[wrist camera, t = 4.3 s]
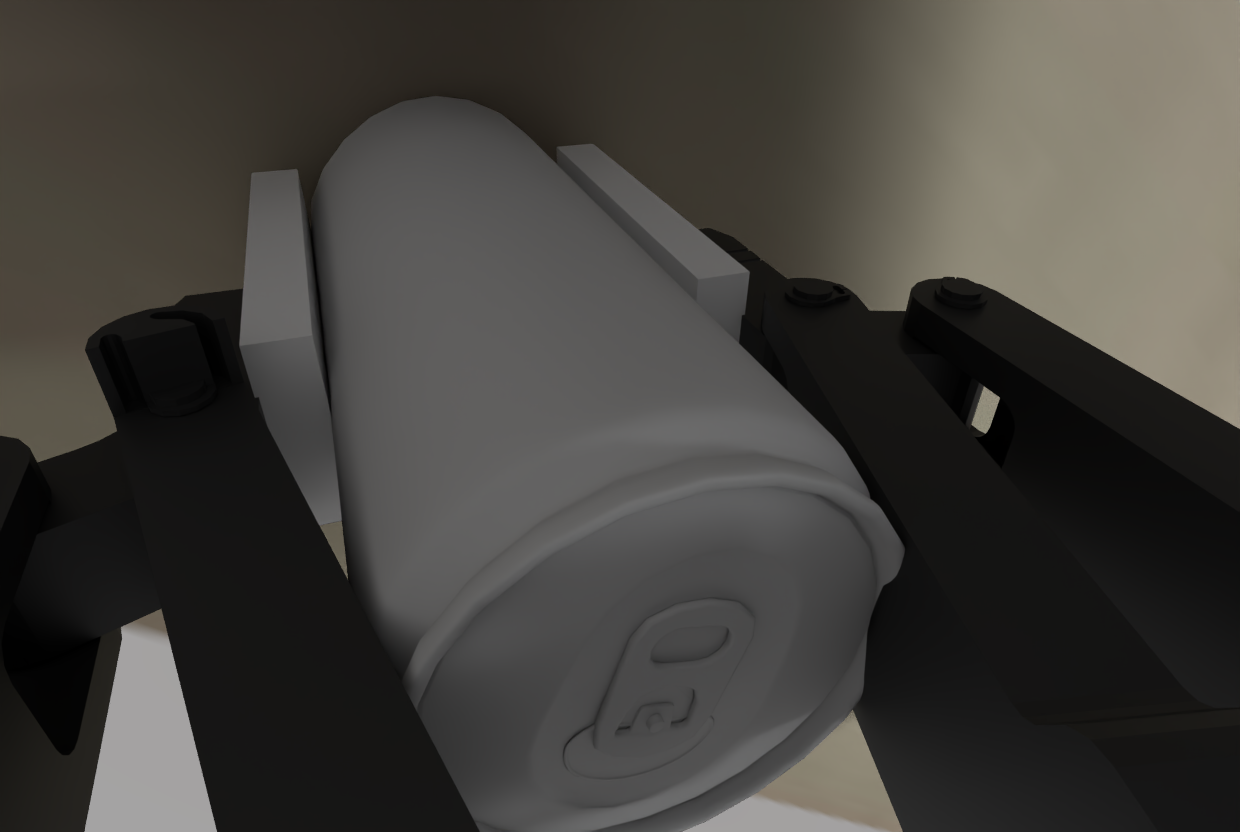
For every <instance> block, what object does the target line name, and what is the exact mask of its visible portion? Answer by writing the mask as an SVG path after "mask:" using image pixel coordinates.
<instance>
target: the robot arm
mask: <svg viewBox="0 0 1240 832" xmlns="http://www.w3.org/2000/svg"><path fill="white" fill-rule="evenodd" d="M556 149H557V165H558V166H559V167H560V168H561V169H562V170H563V171H564V172H565V173H566V174H567V175H568V176H569V177H570V178H571V179H572V180H573V181H574V182H575V183H576V184H577V185H578V186H579V187H580V188H581V189H582V190H583V191H584V192H585V193H586V194H587V195H589V196H590V197H591V198H592V199H593V200H594V201H595V202H596V203H597V204H598V205H599V206H600V207H601V208H602V209H603V210H604V211H605V212H606V213H607V214H608V215H609V216H610V217H611V218H612V219H613V220H614V221H615V222H616V223H617V224H618V225H619V226H620V227H621V228H622V229H623V230H624V231H625V232H626V233H627V234H628V235H629V236H630V237H631V238H632V239H633V240H634V241H635V242H636V243H637V244H638V245H639V246H640V247H641V248H642V249H643V250H644V251H645V252H646V253H647V254H648V255H649V256H650V257H652V258H653V259H654V260H655V261H656V262H657V263H658V264H659V265H660V266H661V267H662V268H663V269H664V270H665V271H666V272H667V273H668V274H669V275H670V276H671V277H672V278H673V279H674V280H675V281H676V282H677V283H678V284H679V285H680V286H681V287H682V288H683V289H684V290H685V291H686V292H687V293H688V294H689V295H690V296H691V297H692V298H693V299H694V300H695V301H696V302H697V303H698V304H699V305H700V306H701V307H702V308H703V309H705V310H706V311H707V312H708V313H709V314H710V315H711V316H712V317H713V318H714V319H715V320H716V321H717V322H718V323H719V324H720V325H721V326H722V327H723V328H724V329H725V330H726V331H727V332H728V333H729V334H730V335H731V336H732V337H733V338H734V339H735V340H736V341H737V342H738V343H739V344H740V345H741V346H742V347H743V348H744V349H745V350H746V351H747V352H748V353H749V354H750V355H751V356H752V357H753V358H754V359H755V360H756V361H757V362H758V363H759V364H760V365H761V366H762V367H763V368H764V369H765V370H767V371H768V372H769V373H770V374H771V375H772V376H773V377H774V378H775V379H776V380H777V381H778V382H779V383H780V384H781V385H782V386H783V387H784V388H785V389H786V390H787V391H788V392H789V393H790V394H791V395H792V396H793V397H794V398H795V399H796V400H797V401H798V402H799V403H800V404H801V405H802V406H803V407H804V408H805V409H806V410H807V411H808V412H809V413H810V414H811V415H812V416H813V417H814V418H815V419H816V420H817V421H818V422H819V423H820V424H821V425H822V426H823V427H824V428H825V429H826V430H827V431H828V432H829V433H830V434H831V435H832V436H833V437H834V438H835V439H836V440H837V441H838V442H839V443H840V445H841V446H842V447H843V448H844V450H845V451H846V453H847V455H848V456H849V458H850V460H851V461H852V463H853V465H854V466H855V468H856V470H857V471H858V473H859V475H860V476H861V478H862V480H863V481H864V483H865V484H866V486H867V489H868V491H869V493H870V499H871V500H873V501H874V502H875V503H876V504H877V505H878V506H879V507H880V508H881V509H882V511H883V512H884V514H885V515H886V517H887V519H888V520H889V522H890V524H891V525H892V527H893V529H894V530H895V532H896V534H897V535H898V537H899V538H900V540H901V542H902V543H903V545H904V547H905V553H904V557H903V561H902V564H901V567H900V569H899V571H898V573H897V575H896V577H895V578H894V579H893V580H892V581H891V582H889V583H887V584H885V585H883V587H882V590H881V592H880V594H879V597H878V599H877V601H876V604H875V606H874V609H873V612H872V615H871V618H870V622H869V626H868V631H867V643H866V658H865V670H864V687H863V693H862V696H861V699H860V701H859V702H858V703H857V704H856V706H855V707H854V708H853V711H854V713H855V716H856V718H857V720H858V723H859V725H860V728H861V730H862V733H863V735H864V738H865V740H866V742H867V745H868V747H869V750H870V752H871V755H872V757H873V759H874V762H875V764H876V767H877V769H878V772H879V774H880V777H881V779H882V781H883V784H884V786H885V789H886V791H887V794H888V796H889V798H890V801H891V803H892V806H893V808H894V811H895V813H896V816H897V818H898V820H899V823H900V825H901V828H902V830H903V832H1240V429H1239V428H1237V427H1235V426H1233V425H1231V424H1230V423H1228V422H1226V421H1224V420H1223V419H1221V418H1219V417H1217V416H1216V415H1214V414H1212V413H1210V412H1209V411H1207V410H1205V409H1203V408H1202V407H1200V406H1198V405H1196V404H1194V403H1193V402H1191V401H1189V400H1187V399H1186V398H1184V397H1182V396H1180V395H1179V394H1177V393H1175V392H1173V391H1172V390H1170V389H1168V388H1166V387H1165V386H1163V385H1161V384H1159V383H1157V382H1156V381H1154V380H1152V379H1150V378H1149V377H1147V376H1145V375H1143V374H1142V373H1140V372H1138V371H1136V370H1135V369H1133V368H1131V367H1129V366H1128V365H1126V364H1124V363H1122V362H1120V361H1119V360H1117V359H1115V358H1113V357H1112V356H1110V355H1108V354H1106V353H1105V352H1103V351H1101V350H1099V349H1098V348H1096V347H1094V346H1092V345H1091V344H1089V343H1087V342H1085V341H1083V340H1082V339H1080V338H1078V337H1076V336H1075V335H1073V334H1071V333H1069V332H1068V331H1066V330H1064V329H1062V328H1061V327H1059V326H1057V325H1055V324H1054V323H1052V322H1050V321H1048V320H1046V319H1045V318H1043V317H1041V316H1039V315H1038V314H1036V313H1034V312H1032V311H1031V310H1029V309H1027V308H1025V307H1024V306H1022V305H1020V304H1018V303H1017V302H1015V301H1013V300H1011V299H1009V298H1008V297H1006V296H1004V295H1002V294H1001V293H999V292H997V291H995V290H993V289H990V288H988V287H986V286H983V285H981V284H977V283H974V282H972V281H970V280H968V279H965V278H958V277H957V278H956V279H955V278H954V277H943V278H941V279H928V280H925V281H922V282H918V283H917V284H916V285H915V286H914V287H913V288H912V289H911V292H910V297H909V301H908V305H907V309H906V311H869V310H868V309H867V307H866V306H865V305H864V304H863V303H862V301H861V300H860V299H859V298H858V297H857V295H855V294H854V293H853V292H851V291H850V290H849V289H848V288H846V287H844V286H843V285H841V284H836V283H833V282H829V281H824V280H820V279H813V278H792V279H786V278H785V277H784V276H783V275H781V274H780V273H779V272H777V271H776V270H775V269H774V268H772V267H771V266H770V265H768V264H767V263H766V262H764V261H763V260H762V261H760V258H759V257H758V256H757V255H755V254H754V253H753V252H752V251H748V248H746V247H745V246H744V245H742V244H741V243H740V242H739V241H737V240H736V239H735V238H733V237H731V236H729V235H726V234H723V233H721V232H718V231H716V230H713V229H710V228H705V229H697V228H696V227H694V226H693V225H692V224H691V223H690V222H688V221H687V220H686V219H685V218H683V217H682V216H681V215H680V214H679V213H677V212H676V211H675V210H674V209H672V208H671V207H670V206H669V205H668V204H666V203H665V202H664V201H663V200H661V199H660V198H659V197H658V196H657V195H655V194H654V193H653V192H652V191H650V190H649V189H648V188H647V187H646V186H644V185H643V184H642V183H641V182H639V181H638V180H637V179H636V178H634V177H633V176H632V175H631V174H630V173H628V172H627V171H626V170H625V169H623V168H622V167H621V166H620V165H619V164H617V163H616V162H615V161H614V160H612V159H611V158H610V157H609V156H608V155H606V154H605V153H604V152H603V151H601V150H600V149H599V148H598V147H597V146H595V145H594V144H583V145H571V146H559V147H556ZM85 351H86V353H87V356H88V358H89V360H90V363H91V365H92V367H93V370H94V372H95V374H96V377H97V379H98V381H99V384H100V386H101V388H102V391H103V393H104V395H105V398H106V400H107V402H108V405H109V407H110V410H111V412H112V414H113V417H114V420H115V424H116V428H117V431H116V432H115V433H113V434H111V435H109V436H107V437H105V438H103V439H101V440H100V441H97V442H95V443H92V444H90V445H87V446H85V447H82V448H79V449H77V450H74V451H71V452H68V453H65V454H62V455H59V456H56V457H53V458H50V459H47V460H44V461H41V462H38V463H37V461H36V459H35V457H34V456H33V454H32V452H31V450H30V448H29V447H28V446H27V445H25V444H24V443H23V442H22V441H20V440H19V439H16V438H10V437H5V436H0V832H84V831H85V824H86V820H87V814H88V810H89V805H90V800H91V795H92V789H93V784H94V779H95V774H96V769H97V764H98V759H99V754H100V749H101V743H102V738H103V733H104V728H105V722H106V717H107V713H108V707H109V702H110V697H111V692H112V687H113V682H114V677H115V672H116V667H117V661H118V656H119V651H120V646H121V641H122V634H121V627H122V626H124V625H126V624H128V623H130V622H133V621H135V620H137V619H139V618H142V617H144V616H146V615H148V614H150V613H153V612H155V611H157V610H159V609H161V608H162V612H163V616H164V620H165V624H166V628H167V633H168V637H169V641H170V644H171V649H172V653H173V657H174V661H175V665H176V669H177V673H178V677H179V681H180V685H181V689H182V692H183V697H184V700H185V704H186V709H187V713H188V717H189V720H190V725H191V729H192V732H193V736H194V741H195V745H196V749H197V752H198V757H199V761H200V765H201V769H202V773H203V777H204V781H205V784H206V789H207V793H208V797H209V801H210V805H211V809H212V813H213V817H214V821H215V825H216V829H217V832H480V831H479V829H478V827H477V825H476V823H475V821H474V819H473V818H472V816H471V814H470V812H469V810H468V808H467V806H466V804H465V802H464V800H463V798H462V797H461V795H460V793H459V791H458V789H457V787H456V785H455V783H454V781H453V779H452V778H451V776H450V774H449V772H448V770H447V768H446V766H445V764H444V762H443V760H442V758H441V757H440V755H439V753H438V751H437V749H436V747H435V745H434V743H433V741H432V739H431V737H430V736H429V734H428V732H427V730H426V728H425V726H424V724H423V722H422V720H421V718H420V717H419V715H418V713H417V711H416V709H415V707H414V705H413V703H412V701H411V699H410V697H409V696H408V694H407V692H406V690H405V688H404V686H403V684H402V682H401V680H400V678H399V676H398V675H397V673H396V671H395V669H394V667H393V665H392V663H391V661H390V659H389V657H388V656H387V654H386V652H385V650H384V648H383V646H382V644H381V642H380V640H379V638H378V636H377V635H376V633H375V631H374V629H373V627H372V625H371V623H370V621H369V619H368V617H367V615H366V614H365V612H364V610H363V608H362V606H361V604H360V602H359V600H358V598H357V596H356V594H355V593H354V591H353V589H352V587H351V585H350V583H349V581H348V579H347V577H346V575H345V574H344V572H343V570H342V568H341V566H340V564H339V562H338V560H337V558H336V556H335V554H334V553H333V551H332V549H331V547H330V545H329V543H328V541H327V539H326V537H325V535H324V533H323V532H322V530H321V528H320V526H319V525H324V524H329V523H333V522H338V521H342V517H341V508H340V498H339V489H338V480H337V470H336V461H335V452H334V442H333V433H332V417H331V408H330V399H329V390H328V380H327V371H326V362H325V353H324V344H323V335H322V325H321V316H320V307H319V298H318V289H317V280H316V271H315V261H314V252H313V243H312V234H311V229H310V224H309V219H308V215H307V210H306V206H305V201H304V197H303V192H302V187H301V183H300V178H299V174H298V169H290V170H278V171H266V172H255V173H252V174H251V188H250V202H249V216H248V230H247V244H246V258H245V272H244V286H243V289H237V290H229V291H221V292H213V293H205V294H197V295H189V296H185V297H184V298H183V299H182V300H180V301H179V302H178V303H177V304H176V305H175V306H169V307H162V308H155V309H148V310H145V311H141V312H138V313H134V314H131V315H128V316H124V317H122V318H120V319H117V320H115V321H113V322H111V323H109V324H107V325H105V326H103V327H101V328H100V329H99V330H98V331H97V332H96V333H94V334H93V335H92V336H91V337H90V338H89V339H88V342H87V345H86V348H85ZM984 386H985V387H986V388H987V389H989V390H990V391H992V392H993V393H994V394H996V395H997V396H999V397H1000V400H999V403H998V406H997V409H996V412H995V415H994V417H993V420H992V423H991V426H990V428H989V430H988V432H987V433H986V434H985V433H983V432H981V431H979V430H978V429H976V428H975V427H974V426H972V425H971V424H972V421H973V418H974V415H975V412H976V409H977V405H978V402H979V399H980V396H981V393H982V390H983V387H984Z"/></svg>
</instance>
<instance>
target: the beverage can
mask: <svg viewBox="0 0 1240 832" xmlns="http://www.w3.org/2000/svg"><path fill="white" fill-rule="evenodd" d="M311 234H312V243H313V252H314V261H315V271H316V280H317V289H318V298H319V307H320V316H321V325H322V335H323V344H324V353H325V362H326V371H327V380H328V390H329V399H330V408H331V417H332V433H333V442H334V452H335V461H336V470H337V480H338V489H339V498H340V508H341V517H342V526H343V535H344V545H345V554H346V563H347V573H348V581H349V583H350V585H351V587H352V589H353V591H354V593H355V594H356V596H357V598H358V600H359V602H360V604H361V606H362V608H363V610H364V612H365V614H366V615H367V617H368V619H369V621H370V623H371V625H372V627H373V629H374V631H375V633H376V635H377V636H378V638H379V640H380V642H381V644H382V646H383V648H384V650H385V652H386V654H387V656H388V657H389V659H390V661H391V663H392V665H393V667H394V669H395V671H396V673H397V675H398V676H399V678H400V680H401V682H402V684H403V686H404V688H405V690H406V692H407V694H408V696H409V697H410V699H411V701H412V703H413V705H414V707H415V709H416V711H417V713H418V715H419V717H420V718H421V720H422V722H423V724H424V726H425V728H426V730H427V732H428V734H429V736H430V737H431V739H432V741H433V743H434V745H435V747H436V749H437V751H438V753H439V755H440V757H441V758H442V760H443V762H444V764H445V766H446V768H447V770H448V772H449V774H450V776H451V778H452V779H453V781H454V783H455V785H456V787H457V789H458V791H459V793H460V795H461V797H462V798H463V800H464V802H465V804H466V806H467V808H468V810H469V812H470V814H471V816H472V818H473V819H474V821H475V823H476V825H477V827H478V829H479V831H480V832H682V831H684V830H687V829H689V828H692V827H694V826H696V825H699V824H701V823H704V822H706V821H707V820H709V819H711V818H713V817H715V816H716V815H718V814H720V813H722V812H723V811H726V810H727V809H729V808H731V807H732V806H734V805H736V804H738V803H740V802H741V801H743V800H745V799H746V798H749V797H750V796H752V795H754V794H756V793H757V792H759V791H760V790H761V789H763V788H764V787H766V786H767V785H768V784H770V783H771V782H772V781H774V780H775V779H776V778H778V777H779V776H781V775H782V774H783V773H785V772H786V771H787V770H789V769H790V768H791V767H793V766H794V765H796V764H797V763H798V762H800V761H801V760H802V759H804V758H805V757H806V756H807V755H808V754H809V753H810V752H811V751H812V750H813V749H814V748H815V747H816V746H817V745H819V744H820V743H821V742H822V741H823V740H824V739H825V738H826V737H827V736H828V735H829V734H830V733H831V732H832V731H833V730H834V729H835V728H836V727H837V726H838V725H839V724H841V723H842V722H843V721H844V720H845V718H846V717H847V716H848V715H849V713H850V712H851V711H852V709H853V708H854V707H855V706H856V704H857V703H858V702H859V701H860V699H861V696H862V693H863V687H864V670H865V658H866V643H867V631H868V626H869V622H870V618H871V615H872V612H873V609H874V606H875V604H876V601H877V599H878V597H879V594H880V592H881V590H882V587H883V585H885V584H887V583H889V582H891V581H892V580H893V579H894V578H895V577H896V575H897V573H898V571H899V569H900V567H901V564H902V561H903V557H904V553H905V547H904V545H903V543H902V542H901V540H900V538H899V537H898V535H897V534H896V532H895V530H894V529H893V527H892V525H891V524H890V522H889V520H888V519H887V517H886V515H885V514H884V512H883V511H882V509H881V508H880V507H879V506H878V505H877V504H876V503H875V502H874V501H873V500H871V499H870V493H869V491H868V489H867V486H866V484H865V483H864V481H863V480H862V478H861V476H860V475H859V473H858V471H857V470H856V468H855V466H854V465H853V463H852V461H851V460H850V458H849V456H848V455H847V453H846V451H845V450H844V448H843V447H842V446H841V445H840V443H839V442H838V441H837V440H836V439H835V438H834V437H833V436H832V435H831V434H830V433H829V432H828V431H827V430H826V429H825V428H824V427H823V426H822V425H821V424H820V423H819V422H818V421H817V420H816V419H815V418H814V417H813V416H812V415H811V414H810V413H809V412H808V411H807V410H806V409H805V408H804V407H803V406H802V405H801V404H800V403H799V402H798V401H797V400H796V399H795V398H794V397H793V396H792V395H791V394H790V393H789V392H788V391H787V390H786V389H785V388H784V387H783V386H782V385H781V384H780V383H779V382H778V381H777V380H776V379H775V378H774V377H773V376H772V375H771V374H770V373H769V372H768V371H767V370H765V369H764V368H763V367H762V366H761V365H760V364H759V363H758V362H757V361H756V360H755V359H754V358H753V357H752V356H751V355H750V354H749V353H748V352H747V351H746V350H745V349H744V348H743V347H742V346H741V345H740V344H739V343H738V342H737V341H736V340H735V339H734V338H733V337H732V336H731V335H730V334H729V333H728V332H727V331H726V330H725V329H724V328H723V327H722V326H721V325H720V324H719V323H718V322H717V321H716V320H715V319H714V318H713V317H712V316H711V315H710V314H709V313H708V312H707V311H706V310H705V309H703V308H702V307H701V306H700V305H699V304H698V303H697V302H696V301H695V300H694V299H693V298H692V297H691V296H690V295H689V294H688V293H687V292H686V291H685V290H684V289H683V288H682V287H681V286H680V285H679V284H678V283H677V282H676V281H675V280H674V279H673V278H672V277H671V276H670V275H669V274H668V273H667V272H666V271H665V270H664V269H663V268H662V267H661V266H660V265H659V264H658V263H657V262H656V261H655V260H654V259H653V258H652V257H650V256H649V255H648V254H647V253H646V252H645V251H644V250H643V249H642V248H641V247H640V246H639V245H638V244H637V243H636V242H635V241H634V240H633V239H632V238H631V237H630V236H629V235H628V234H627V233H626V232H625V231H624V230H623V229H622V228H621V227H620V226H619V225H618V224H617V223H616V222H615V221H614V220H613V219H612V218H611V217H610V216H609V215H608V214H607V213H606V212H605V211H604V210H603V209H602V208H601V207H600V206H599V205H598V204H597V203H596V202H595V201H594V200H593V199H592V198H591V197H590V196H589V195H587V194H586V193H585V192H584V191H583V190H582V189H581V188H580V187H579V186H578V185H577V184H576V183H575V182H574V181H573V180H572V179H571V178H570V177H569V176H568V175H567V174H566V173H565V172H564V171H563V170H562V169H561V168H560V167H559V166H558V165H557V164H556V163H555V162H554V161H553V160H552V159H551V158H550V157H549V156H548V155H547V154H546V153H545V152H544V151H543V150H542V149H541V148H540V147H539V146H538V145H537V144H536V143H535V142H534V141H533V140H532V139H531V138H530V137H529V136H528V135H527V134H526V133H525V132H523V131H522V130H521V129H520V128H518V127H517V126H516V125H515V124H513V123H512V122H511V121H509V120H508V119H507V118H506V117H504V116H503V115H502V114H501V113H499V112H496V111H494V110H492V109H489V108H487V107H485V106H482V105H480V104H478V103H475V102H473V101H471V100H466V99H458V98H450V97H441V96H431V97H425V98H419V99H413V100H407V101H402V102H400V103H397V104H395V105H393V106H391V107H389V108H387V109H385V110H383V111H381V112H379V113H377V114H375V115H373V116H371V117H370V118H369V119H367V120H366V121H365V122H364V123H363V124H362V125H361V126H359V127H358V128H357V129H356V130H355V131H354V132H352V133H351V134H350V135H349V136H348V137H347V138H345V139H344V141H343V142H342V143H341V145H340V146H339V147H338V149H337V150H336V152H335V153H334V154H333V156H332V157H331V159H330V160H329V161H328V163H327V164H326V165H325V167H324V168H323V171H322V173H321V176H320V179H319V181H318V184H317V187H316V189H315V192H314V195H313V198H312V200H311Z"/></svg>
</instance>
